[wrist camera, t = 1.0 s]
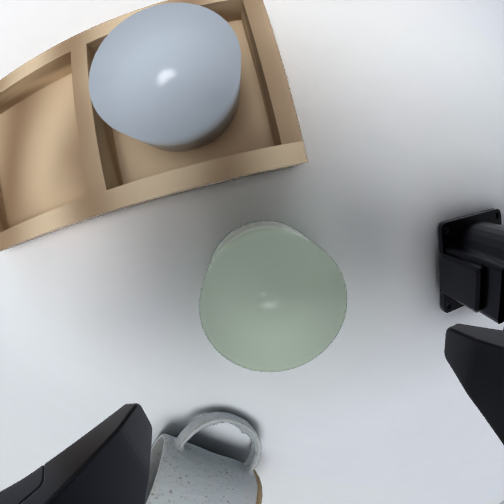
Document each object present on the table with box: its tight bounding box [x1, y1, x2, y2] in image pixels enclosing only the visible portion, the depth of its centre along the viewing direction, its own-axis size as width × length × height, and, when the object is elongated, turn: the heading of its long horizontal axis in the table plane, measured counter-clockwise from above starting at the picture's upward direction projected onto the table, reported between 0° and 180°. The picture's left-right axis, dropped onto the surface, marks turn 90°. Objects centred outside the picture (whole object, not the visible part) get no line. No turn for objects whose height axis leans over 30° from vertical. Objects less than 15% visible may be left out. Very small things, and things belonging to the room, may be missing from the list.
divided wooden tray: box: [0, 0, 308, 251], centre depth 14 cm, size 20×10×3 cm, turn 103°
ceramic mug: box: [145, 412, 262, 504], centre depth 17 cm, size 11×8×8 cm
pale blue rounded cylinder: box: [89, 3, 241, 152], centre depth 12 cm, size 6×6×5 cm
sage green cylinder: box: [199, 221, 347, 372], centre depth 15 cm, size 6×6×5 cm
